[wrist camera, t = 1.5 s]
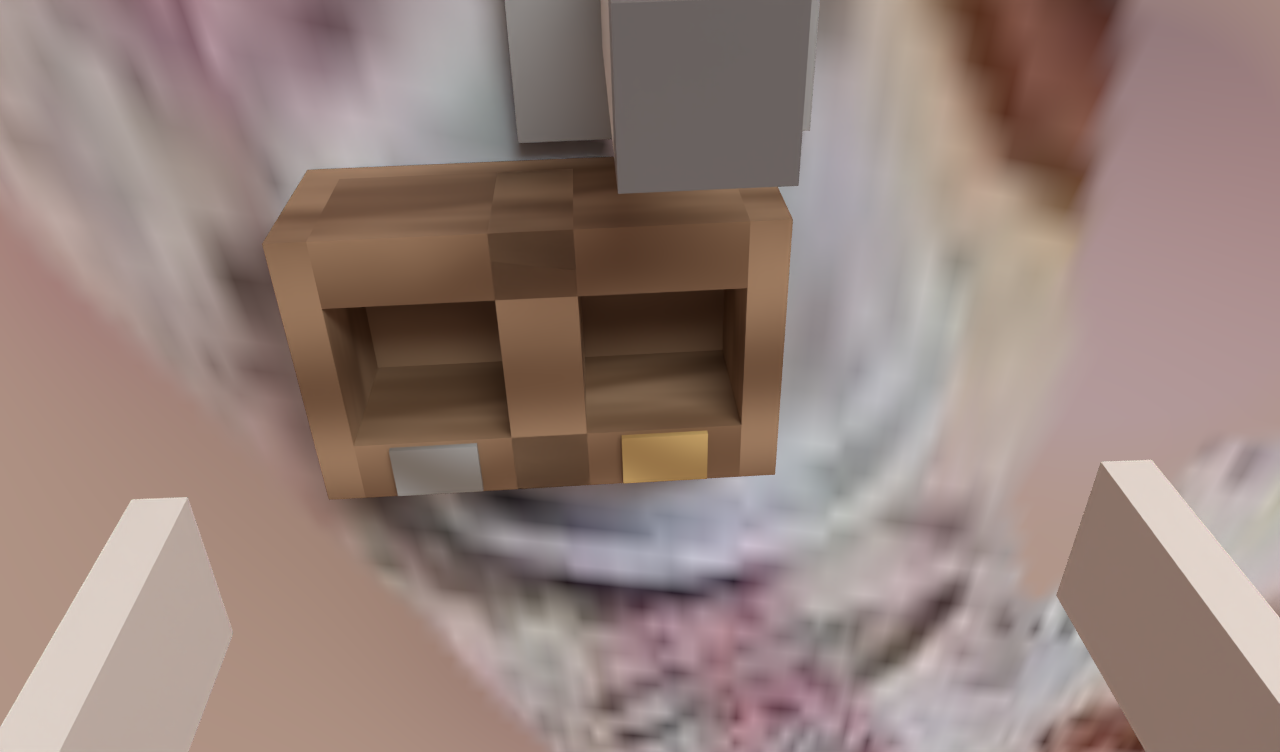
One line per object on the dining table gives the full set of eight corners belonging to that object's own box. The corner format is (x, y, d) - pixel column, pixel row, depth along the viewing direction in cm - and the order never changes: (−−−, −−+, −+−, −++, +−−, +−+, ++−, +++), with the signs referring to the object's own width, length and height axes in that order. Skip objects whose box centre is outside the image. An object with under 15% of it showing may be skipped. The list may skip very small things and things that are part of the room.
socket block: (307, 169, 34) (260, 246, 29) (760, 150, 34) (794, 222, 29) (360, 407, 39) (328, 507, 34) (749, 386, 40) (775, 482, 35)
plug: (596, -87, 29) (610, 3, 19) (728, -91, 29) (811, -4, 19) (602, 49, 31) (617, 193, 21) (725, 44, 31) (798, 185, 21)
